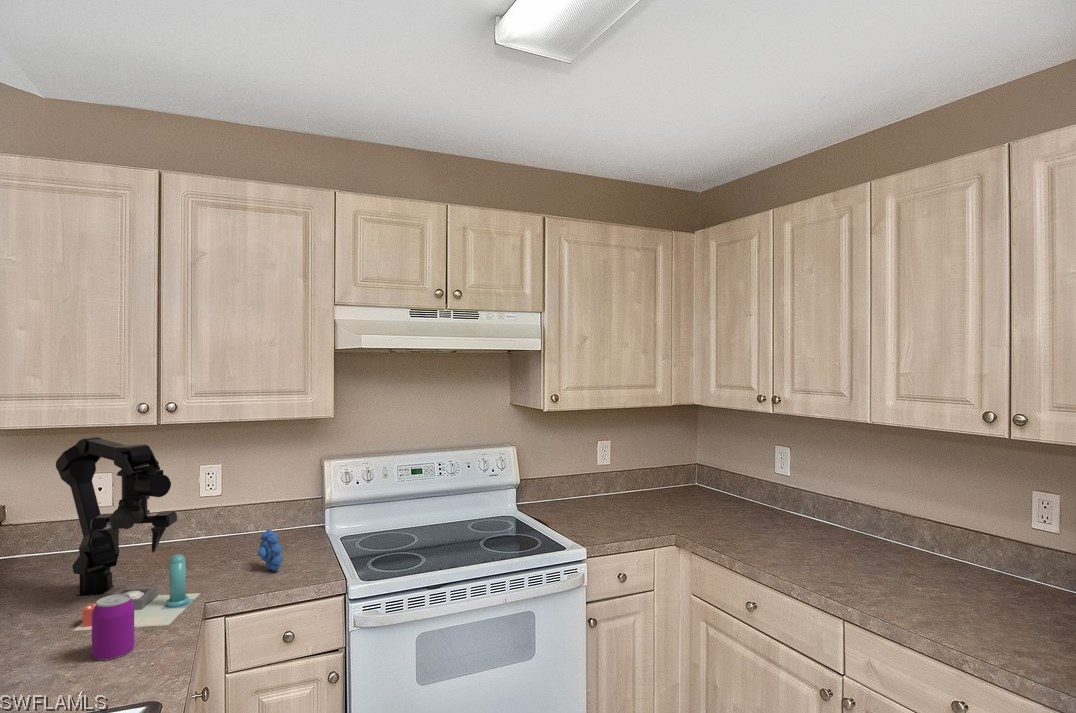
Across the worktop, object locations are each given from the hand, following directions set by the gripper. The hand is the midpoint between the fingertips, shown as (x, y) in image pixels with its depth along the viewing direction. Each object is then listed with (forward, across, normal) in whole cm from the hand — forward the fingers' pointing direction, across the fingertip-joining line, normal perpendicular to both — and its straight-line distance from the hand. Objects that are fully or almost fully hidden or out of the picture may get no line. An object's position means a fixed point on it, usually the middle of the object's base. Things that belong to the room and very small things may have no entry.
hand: (134, 552), depth 165 cm
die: (+13, -3, -13) cm, 18 cm away
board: (+13, +4, -7) cm, 15 cm away
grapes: (+13, +28, +20) cm, 37 cm away
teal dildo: (+13, +12, -4) cm, 18 cm away
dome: (+12, 0, -2) cm, 12 cm away
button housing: (+13, 0, -2) cm, 13 cm away
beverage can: (+13, +9, -30) cm, 34 cm away
